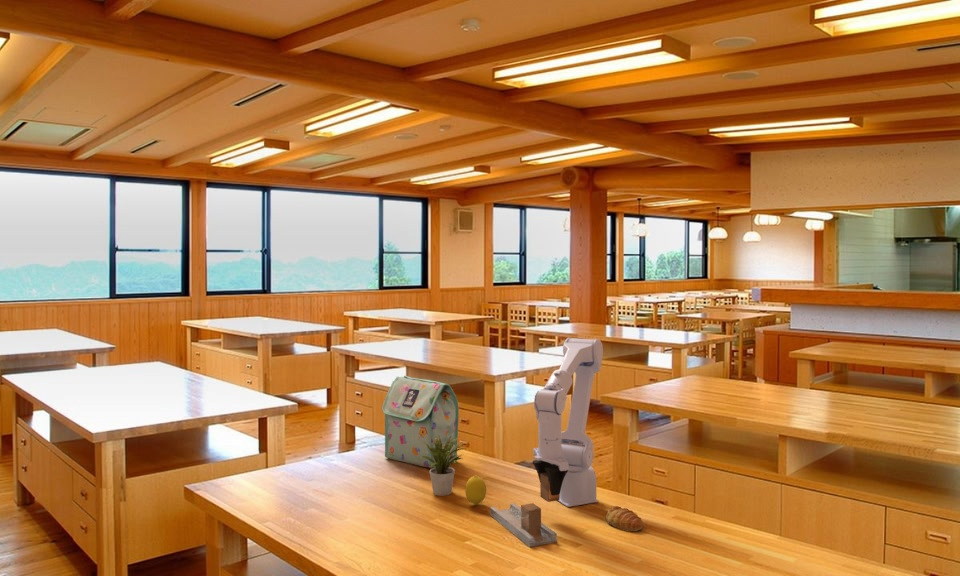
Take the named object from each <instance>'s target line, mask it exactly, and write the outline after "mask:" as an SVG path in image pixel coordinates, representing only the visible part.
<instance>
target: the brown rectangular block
mask: <svg viewBox="0 0 960 576" xmlns="http://www.w3.org/2000/svg"><path fill="white" fill-rule="evenodd" d="M539 485H540V488H539V489H540V490H539V491H540V492H539V493H540V494H539V495H540V498H541V499H543V500H544V501H546V502H548V503H551V502H556V501H558V500H560V494H559V495H551V492H550V484H549V478H548V475H547V473H540V480H539Z"/></svg>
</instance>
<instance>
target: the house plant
mask: <svg viewBox="0 0 960 576" xmlns="http://www.w3.org/2000/svg"><path fill="white" fill-rule="evenodd" d="M451 437H452V435H451V436H450V438H449V439H448V441H447V443H446V444H445V446H444V449H442V442H441V439H440V436H439V441H438V439H437V437H435V443H434V444H435V448H433V447H430V446H429V445H428V444H427V443H425V442H424V443H425V444H426V445H427V447H428V448H429V450H430V451H431V452H432V454H433V455H432V456H433V457H434V459H435V461H436V463H435V462H434V461H433V460H432V459H431V458H429V457H427V456H421V458H425V459H428V460H430V461H431V467H429V468H430V470H429V477H430V483H431V487H432V492H433V495H435V496H441V497H442V496H450V495H451V494H452V492H453V486H454V477H455V473H456V470H455V468H453V467H451V466H452V464H453V463H454V464H456V465H457V466H460V465H459V462H458V460H463V457H462V456H463V454H460V455H458V454H457V455H453V456H450V455H452V454H453V453H454V452H456V451H457V452H458V451H461V450H464V449H465V450H466V449H467V447H462V445H464V444H468V443H469V442H462V443H459V444H457V446H454V448H453V449H452V450H451V448H452V447H453V445H454V442H455V441H456V440H457V438H456V439H454V440H453V441H452V442H451V443H450V440H451ZM458 438H459V437H458ZM449 443H450V444H449ZM456 447H457V448H456ZM455 448H456V449H455ZM426 449H427V448H426ZM454 449H455V450H454ZM427 450H428V449H427ZM429 450H428V451H429ZM450 450H451V451H450ZM430 451H429V452H430ZM431 452H430V453H431ZM449 456H450V457H449ZM456 456H457V458H454V459H453V460H451V459H452V458H453V457H456ZM448 458H449V459H448ZM450 460H451V461H450ZM456 460H457V461H456ZM449 461H450V462H449ZM434 465H435V467H434ZM432 467H434V468H432Z"/></svg>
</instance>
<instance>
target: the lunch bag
mask: <svg viewBox="0 0 960 576" xmlns="http://www.w3.org/2000/svg"><path fill="white" fill-rule="evenodd" d="M457 398H458V397H457V396H456V393H455V392H454V389H452V386H451V385H450V384H448V383H444V382H439V381H434V380H431V379H425V378H422V379H421V378H417V377H416V378H415V377H410V376H407V375H404V376H396V377H395V378H394V380H392V382H391V384H390V386H389V389H388V391H387V393H386V396H385V398H384V401H383V404H382V406H381V410H382V412H383V414H384V457H385V459H386V458H387V459H391V460H394V461H398V462H404V463H407V464H411V465H416V466H419V467H424V468H430V467H431V461H430V460H428V459H425V458H421V456H427V457H429V458H431V459H432V460H433V461H434V462H435V463H436V461H435V459H434V457H433V456H432V455H433V454H432V452H431V451H430V450H429V448H428V447H427V445H426V444H425V443H427V444H428V445H429V446H430V447H433V448H435V444H434V443H435V437H437V439H438V441H439V436H440V439H441V442H442V449H444V446H445V444H446V443H447V441H448V439H449V438H450V436H451V435H452V437H451V440H450V443H451V442H452V441H453V440H454V439H456V438H457V440H456V441H455V442H454V445H453V447H452V448H451V450H452V449H453V448H454V446H457V445H458V440H459V439H458V436H459V417H460V413H459V411H460V410H459V408H460V407H459V402H458V401H459V400H458V399H457ZM424 442H425V443H424ZM450 443H449V444H450ZM426 448H427V449H428V450H429V451H430V452H431V453H430V452H429V451H428V450H427V449H426ZM456 448H457V447H456ZM456 448H455V449H456ZM455 449H454V450H455ZM457 449H458V448H457ZM451 450H450V451H451ZM453 455H458V451H456V452H454V453H453V454H452V455H450V456H453ZM450 456H449V457H450ZM457 457H458V456H456V457H453V458H452V459H451V460H453V459H454V458H457ZM448 459H449V458H448ZM451 460H450V461H451ZM450 461H449V462H450ZM456 461H457V462H458V460H456ZM433 468H435V465H434V467H432V468H431V469H433Z"/></svg>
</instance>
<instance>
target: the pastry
mask: <svg viewBox="0 0 960 576" xmlns="http://www.w3.org/2000/svg"><path fill="white" fill-rule="evenodd" d="M605 520H606V522H608V525H612V527H614V528H616V527H617V528H616V529H619V528H620V529H619V530H623V529H624V530H623V531H626V530H628V531H627V532H634V531H635V532H637V531H640V530H642V529H643V527H644V522H643V520H642V519H641V517H640V516H638V514H637V513H635V512H634V511H633V510H630V509H628V508H626V507H624V508H622V507H621V506H617V505H615V506H613V507H611V508H610V509H609V510H608V511H607V513H606V515H605Z"/></svg>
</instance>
